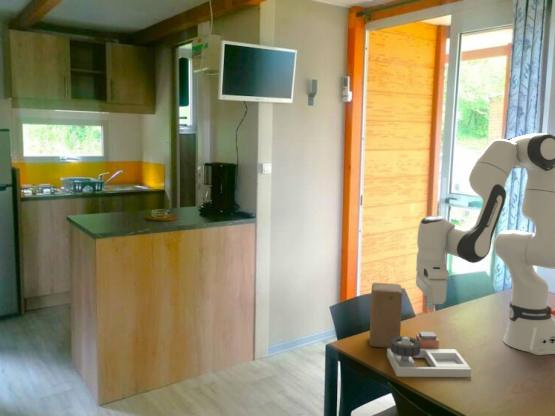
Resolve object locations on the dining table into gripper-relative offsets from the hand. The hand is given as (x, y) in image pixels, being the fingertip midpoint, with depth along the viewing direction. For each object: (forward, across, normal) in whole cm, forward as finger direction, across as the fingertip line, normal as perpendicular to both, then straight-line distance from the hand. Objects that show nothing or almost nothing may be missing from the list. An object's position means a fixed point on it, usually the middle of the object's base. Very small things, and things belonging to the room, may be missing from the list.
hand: (428, 308), depth 169 cm
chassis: (+16, +9, -3) cm, 18 cm away
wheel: (+10, +9, -10) cm, 17 cm away
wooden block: (+16, -9, -12) cm, 22 cm away
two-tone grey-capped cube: (+16, -2, +1) cm, 16 cm away
